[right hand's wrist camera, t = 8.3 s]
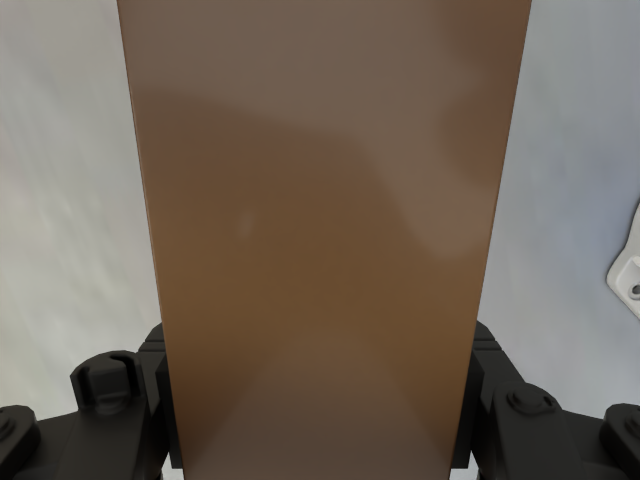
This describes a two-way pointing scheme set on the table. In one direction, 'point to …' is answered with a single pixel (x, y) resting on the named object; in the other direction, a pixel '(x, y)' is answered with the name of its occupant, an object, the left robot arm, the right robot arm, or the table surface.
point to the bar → (320, 222)
